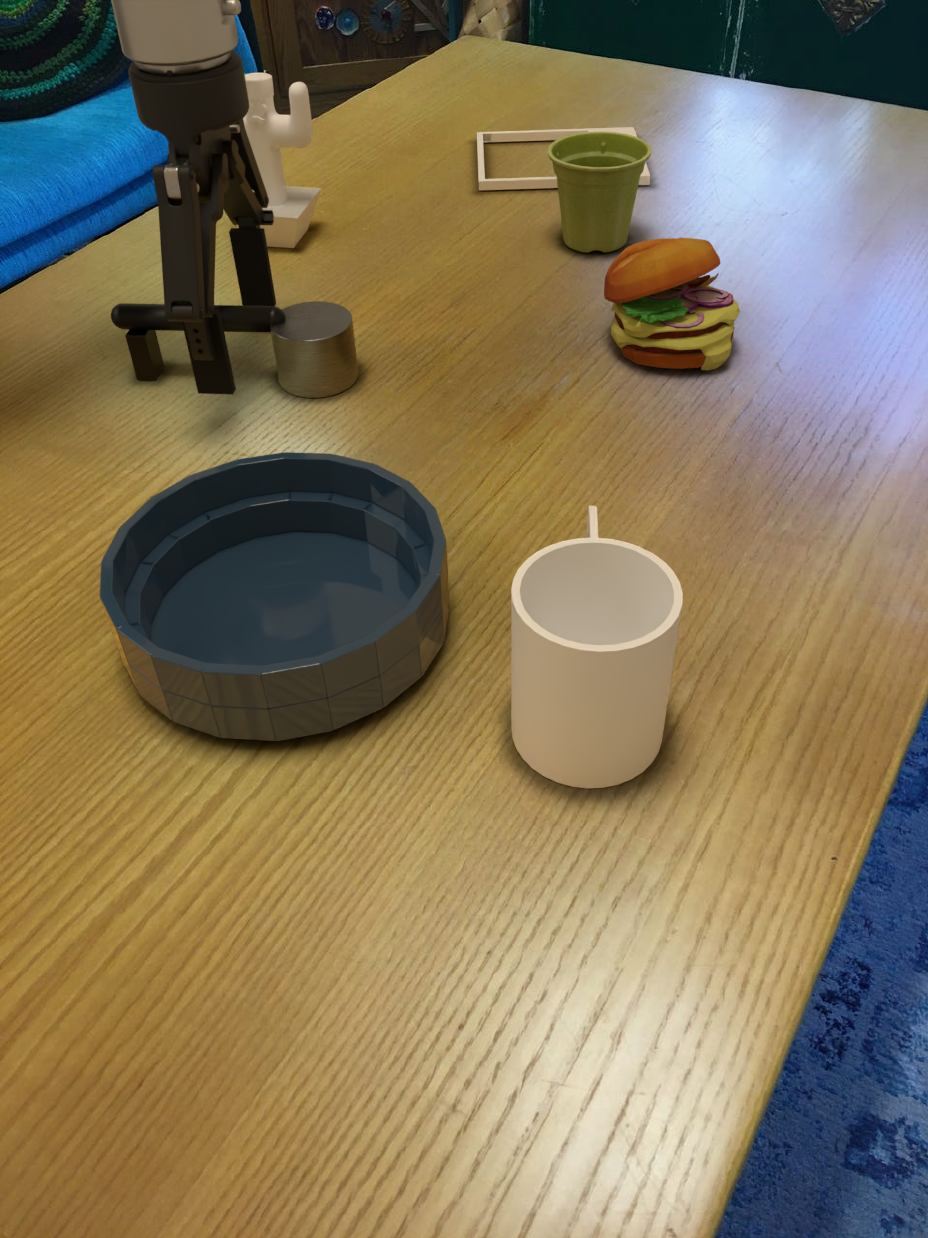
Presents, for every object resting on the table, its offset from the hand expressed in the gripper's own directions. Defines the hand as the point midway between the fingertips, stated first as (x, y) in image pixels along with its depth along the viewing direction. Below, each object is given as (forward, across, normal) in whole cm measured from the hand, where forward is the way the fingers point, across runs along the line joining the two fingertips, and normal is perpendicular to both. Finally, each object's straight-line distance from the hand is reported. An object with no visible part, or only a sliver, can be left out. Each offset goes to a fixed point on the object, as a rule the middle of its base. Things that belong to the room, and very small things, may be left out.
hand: (239, 346), depth 85 cm
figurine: (+3, +26, +3) cm, 26 cm away
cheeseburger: (+3, +6, -34) cm, 35 cm away
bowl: (+2, -29, -10) cm, 31 cm away
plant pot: (+3, +26, -28) cm, 38 cm away
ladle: (+3, 0, 0) cm, 3 cm away
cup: (+3, -34, -28) cm, 44 cm away
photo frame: (+2, +46, -24) cm, 52 cm away
